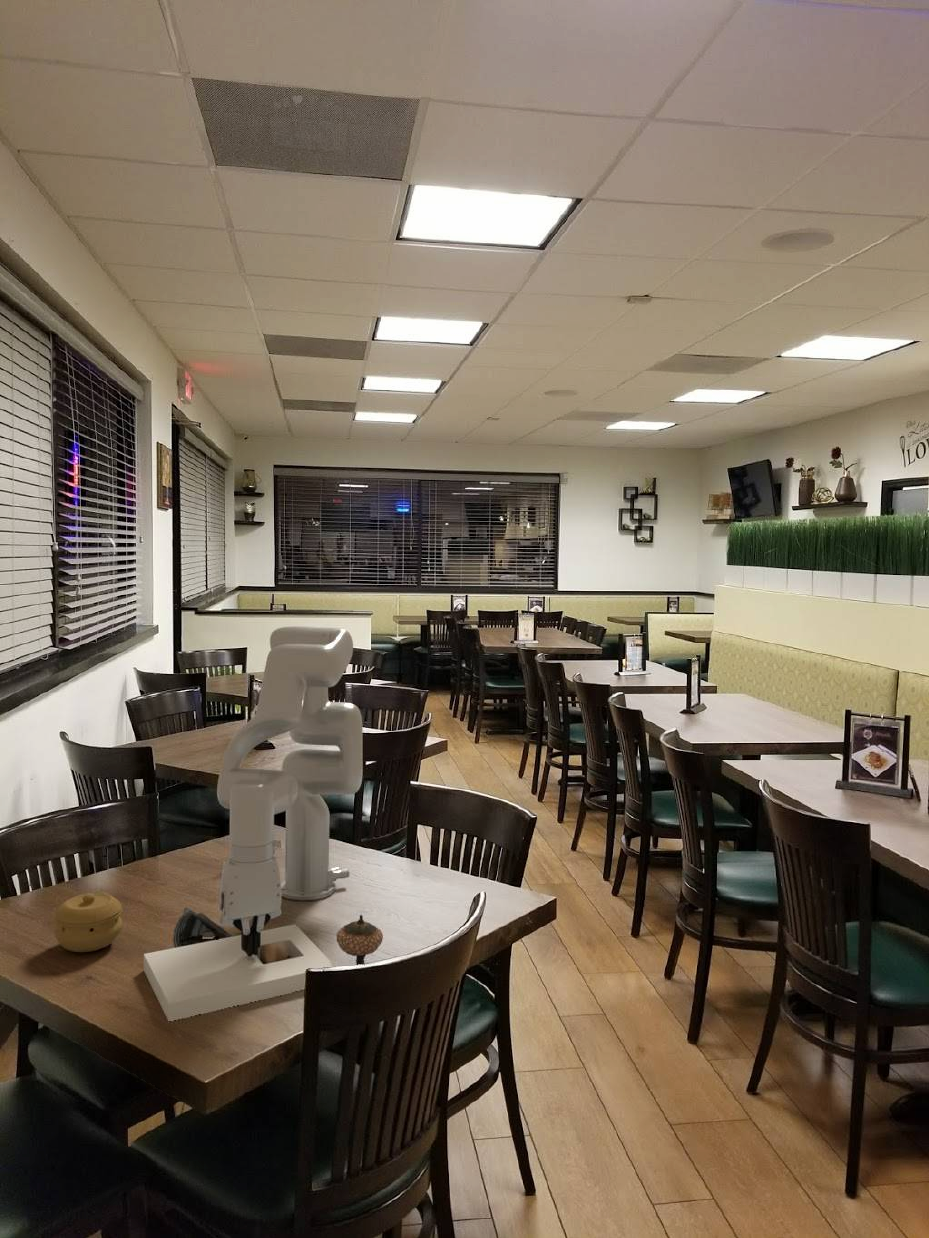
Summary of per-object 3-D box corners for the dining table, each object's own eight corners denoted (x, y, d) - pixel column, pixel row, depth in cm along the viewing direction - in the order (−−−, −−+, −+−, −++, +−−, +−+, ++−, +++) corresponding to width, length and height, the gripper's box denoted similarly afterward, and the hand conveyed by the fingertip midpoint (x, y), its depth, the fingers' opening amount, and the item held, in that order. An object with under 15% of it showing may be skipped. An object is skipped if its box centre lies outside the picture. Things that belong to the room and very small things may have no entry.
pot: (73, 932, 172) (72, 881, 171) (132, 934, 171) (132, 883, 171) (42, 958, 160) (41, 905, 159) (106, 961, 160) (106, 907, 159)
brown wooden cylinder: (259, 963, 159) (277, 960, 161) (266, 980, 155) (286, 976, 156) (260, 939, 158) (279, 935, 159) (268, 955, 154) (288, 951, 155)
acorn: (327, 973, 157) (328, 918, 156) (351, 954, 164) (352, 902, 164) (367, 983, 154) (368, 926, 153) (390, 963, 161) (391, 910, 161)
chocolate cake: (250, 940, 171) (213, 891, 174) (238, 945, 164) (200, 894, 167) (212, 974, 170) (175, 924, 173) (198, 980, 163) (161, 928, 166)
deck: (295, 939, 171) (295, 924, 170) (334, 982, 153) (334, 965, 153) (143, 970, 156) (143, 953, 156) (168, 1022, 139) (168, 1003, 139)
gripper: (285, 839, 162) (284, 936, 163) (203, 850, 154) (202, 953, 155) (299, 850, 155) (298, 952, 156) (214, 863, 148) (213, 970, 149)
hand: (250, 952), depth 156 cm, fingers closed
